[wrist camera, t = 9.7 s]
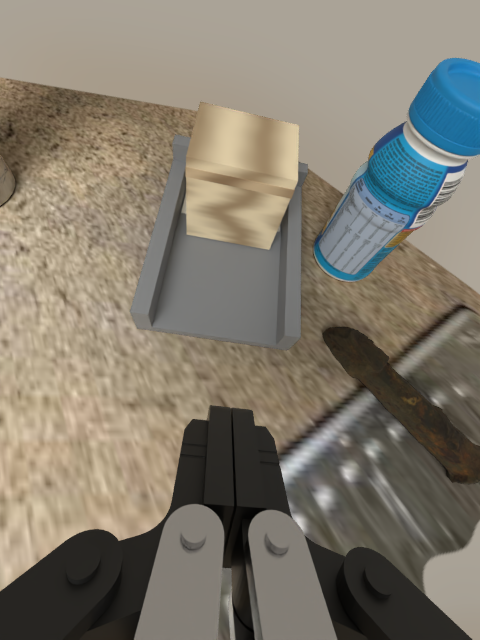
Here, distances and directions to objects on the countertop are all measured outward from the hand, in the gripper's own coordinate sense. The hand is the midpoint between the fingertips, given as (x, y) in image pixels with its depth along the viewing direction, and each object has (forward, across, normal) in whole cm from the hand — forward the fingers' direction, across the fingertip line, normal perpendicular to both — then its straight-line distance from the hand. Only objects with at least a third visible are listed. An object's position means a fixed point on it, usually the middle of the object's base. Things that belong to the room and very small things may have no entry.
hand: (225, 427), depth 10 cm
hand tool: (+17, -19, +9) cm, 27 cm away
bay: (+27, 0, -2) cm, 27 cm away
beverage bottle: (+29, -15, -4) cm, 33 cm away
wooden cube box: (+30, 0, -6) cm, 31 cm away
